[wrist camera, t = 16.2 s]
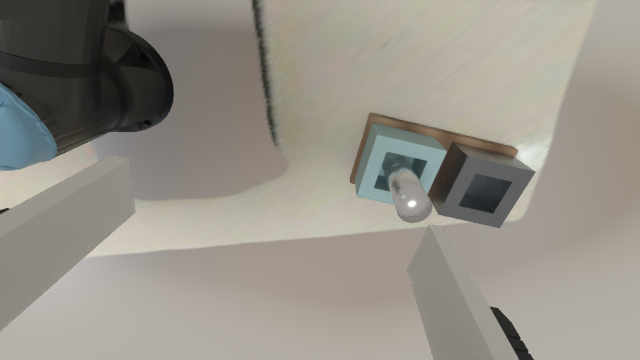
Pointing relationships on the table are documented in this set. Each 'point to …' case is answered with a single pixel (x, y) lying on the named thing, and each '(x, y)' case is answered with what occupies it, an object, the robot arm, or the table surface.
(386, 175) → the translucent peg
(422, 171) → the teal square holder
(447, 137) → the tool board
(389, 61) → the table surface
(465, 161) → the socket block
